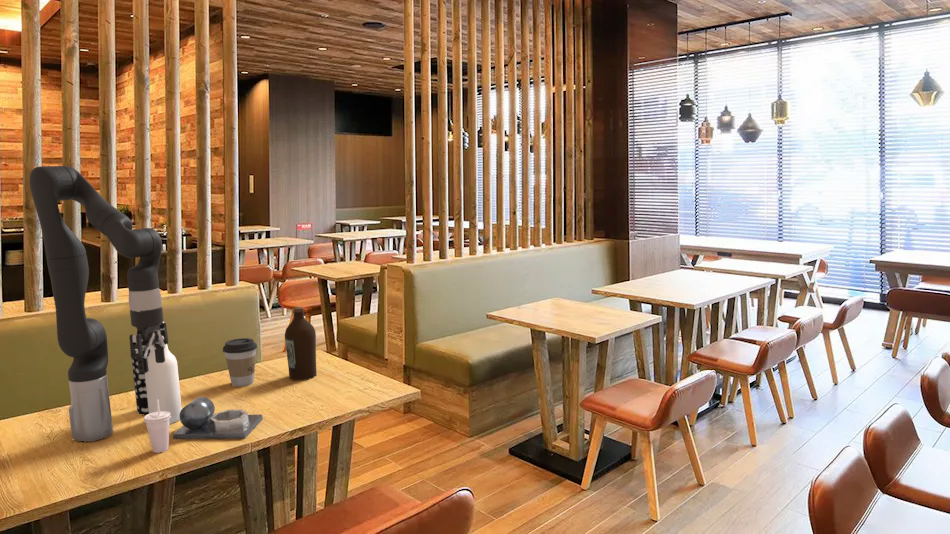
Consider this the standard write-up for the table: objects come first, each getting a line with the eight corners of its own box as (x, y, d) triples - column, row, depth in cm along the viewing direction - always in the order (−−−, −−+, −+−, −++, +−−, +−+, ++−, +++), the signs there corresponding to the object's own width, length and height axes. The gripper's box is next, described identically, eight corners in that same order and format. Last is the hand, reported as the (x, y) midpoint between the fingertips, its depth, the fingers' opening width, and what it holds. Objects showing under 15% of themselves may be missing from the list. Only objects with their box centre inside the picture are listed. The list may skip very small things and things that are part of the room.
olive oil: (311, 369, 243) (307, 303, 240) (322, 376, 235) (318, 307, 231) (283, 375, 237) (278, 307, 234) (293, 383, 229) (289, 312, 225)
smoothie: (163, 456, 172) (158, 404, 170) (141, 454, 173) (136, 403, 171) (179, 445, 178) (174, 395, 176) (158, 444, 179) (152, 394, 177)
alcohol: (159, 415, 201) (149, 319, 197) (187, 415, 201) (178, 318, 196) (144, 426, 192) (133, 326, 188) (173, 426, 192) (164, 325, 188)
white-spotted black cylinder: (171, 409, 206) (165, 347, 203) (143, 417, 200) (136, 353, 197) (160, 403, 212) (154, 342, 209) (133, 410, 206) (126, 348, 203)
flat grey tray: (173, 439, 182) (170, 409, 181) (196, 420, 196) (193, 392, 195) (244, 438, 182) (242, 408, 180) (262, 419, 195) (260, 391, 194)
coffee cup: (253, 388, 224) (250, 345, 222) (220, 389, 224) (216, 346, 222) (264, 377, 235) (261, 336, 233) (232, 378, 235) (229, 337, 233)
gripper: (146, 301, 177) (152, 359, 179) (115, 312, 163) (123, 376, 165) (173, 300, 177) (179, 359, 179) (145, 312, 163) (152, 375, 165)
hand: (152, 367), depth 172 cm, fingers open, 8 cm apart
